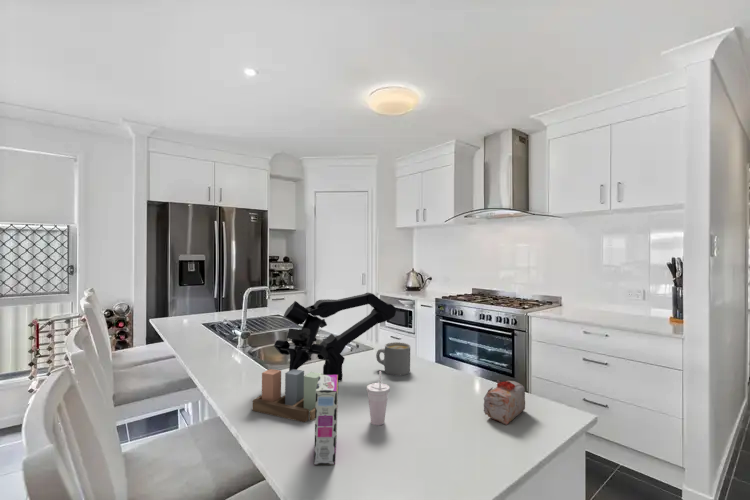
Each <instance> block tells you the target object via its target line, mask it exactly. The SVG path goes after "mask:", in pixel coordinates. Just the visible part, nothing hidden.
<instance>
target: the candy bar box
mask: <svg viewBox="0 0 750 500" xmlns="http://www.w3.org/2000/svg"><path fill="white" fill-rule="evenodd" d="M338 387H339V381H338V375H319V378H318V383H317V387H316V407H315V419H314V452H313V453H314V454H313V455H314V456H313V457H314V459H313V460H314V461H313V465H314V466H332V465H333V466H334V465H335V464H336V454H337V440H338V439H337V438H338V408H339V405H338V403H339V402H338V400H339V388H338Z"/></svg>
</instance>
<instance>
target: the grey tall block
mask: <svg viewBox="0 0 750 500" xmlns="http://www.w3.org/2000/svg"><path fill="white" fill-rule="evenodd" d="M284 374H285V375H284V377H285V378H284V379H285V380H284V381H285V382H284V383H285V384H284V386H285V387H284V395H285V404H286V405H291V406H293V405H294V404H296V403H297V402H299V401H300V400H302V399H303V398H304V376H305V370H300V369H297V370H296V369H292V370H290V371H289V370H288V371H287V372H285V373H284Z"/></svg>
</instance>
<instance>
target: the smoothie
mask: <svg viewBox="0 0 750 500" xmlns="http://www.w3.org/2000/svg"><path fill="white" fill-rule="evenodd" d="M378 374H379V376H378V382H373V383H369V384H368V385H366V393H367V395H368V396H367V399H368V407H369V415H370V416H369V417H370V423H371V425H374V426H381V425H384V424H385V421H386V420H385V419H386V413H387V405H388V398H389V393H390V385H388V384H386V383H383V382H382V371H381V370H379V371H378Z"/></svg>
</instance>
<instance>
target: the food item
mask: <svg viewBox="0 0 750 500" xmlns="http://www.w3.org/2000/svg"><path fill="white" fill-rule="evenodd" d="M483 401H484V402H483V413H484V416H487V417H488V418H490V419H492V420H494V421H495V422H496V421H497V422H499V423H500V424H503V425H505V426H507V425H509V424H510V423H511V422H512V421H513V420H514V419H515V418H516V417H517V416H519V415H520V414H521V413H522V412H524V411H525V409H526V390H525V386H523V384H521V383H519V382H517V381H514V380H506V381H500V380H499V379H497V380H496V387H493V386H492V387H490V388H489V389H488V390H487V392H486V394H485V395H484V397H483Z"/></svg>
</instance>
